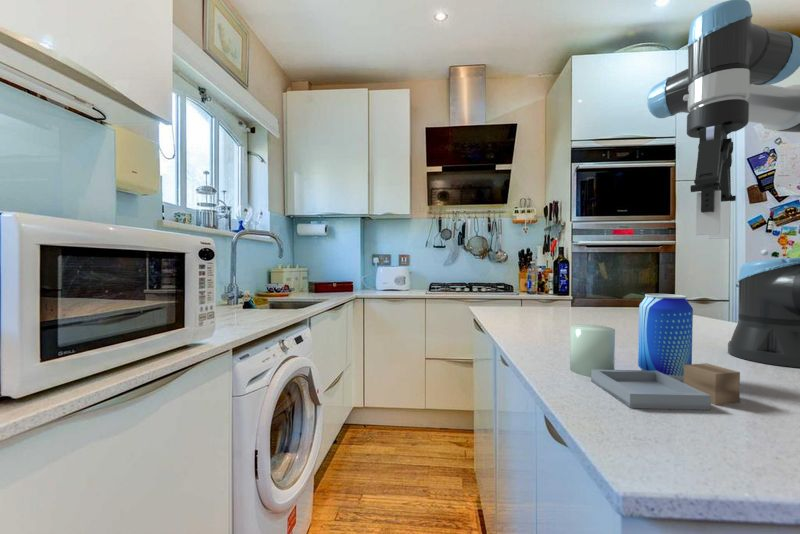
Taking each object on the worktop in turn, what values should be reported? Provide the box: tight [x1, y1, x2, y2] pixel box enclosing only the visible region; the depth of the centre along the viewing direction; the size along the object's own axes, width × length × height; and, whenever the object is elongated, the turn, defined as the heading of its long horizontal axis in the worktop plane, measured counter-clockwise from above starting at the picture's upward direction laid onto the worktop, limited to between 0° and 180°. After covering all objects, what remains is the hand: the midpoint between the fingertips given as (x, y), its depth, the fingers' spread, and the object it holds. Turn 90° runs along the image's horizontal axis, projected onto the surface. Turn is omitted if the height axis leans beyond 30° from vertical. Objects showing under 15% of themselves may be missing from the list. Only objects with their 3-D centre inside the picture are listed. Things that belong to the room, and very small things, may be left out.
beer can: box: [637, 293, 694, 382], centre depth 69 cm, size 8×8×16 cm
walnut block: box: [682, 362, 741, 406], centre depth 58 cm, size 5×5×5 cm
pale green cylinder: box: [569, 323, 616, 378], centre depth 72 cm, size 8×8×9 cm
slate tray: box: [590, 369, 712, 411], centre depth 60 cm, size 12×12×2 cm
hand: (713, 237), depth 58 cm, fingers open, 13 cm apart
